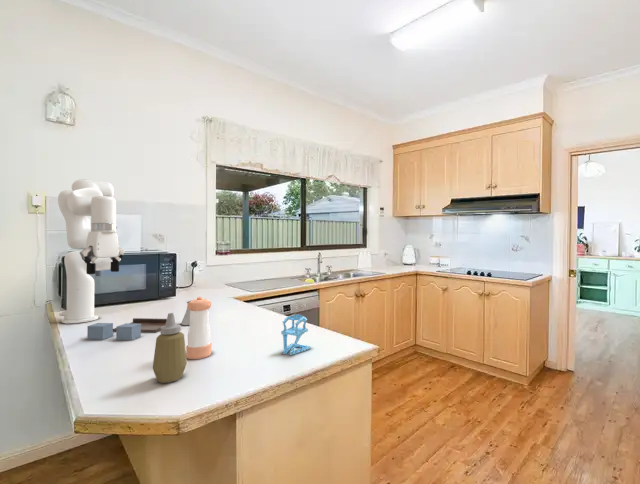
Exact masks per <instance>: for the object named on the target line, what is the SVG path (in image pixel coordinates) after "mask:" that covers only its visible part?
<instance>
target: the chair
mask: <svg viewBox="0 0 640 484" xmlns="http://www.w3.org/2000/svg"><path fill="white" fill-rule="evenodd" d="M288 321H291V327H288V328H287V324H286V323H287V322H288ZM295 321H296V322H295ZM307 321H308V318H307V317H306V316H304V315H302V314H297V313H296V314H293V315H288V316H287V317H285V318H284V320H283V321H282V325H283V330H281V331H280V335H282V341H283V342H282V343H283V352H282V353H283V355H287V354H288V353H289V356H292V355H296V354H298V353H302V352H305V351H309V350H311V346H310V345H307V344H301V343H299V341H300V338H301V337H302V336H303V335H304V334H305V333H307V332H309V329H308V328H307V327H306V326H307V325H306V324H307ZM302 322H303V325H302V327H299V325H300V324H301V323H302ZM288 336H294V337H295V340H294V342H293V343H292V342H291V343H290V344H289V345H288ZM296 348H297V349H296Z"/></svg>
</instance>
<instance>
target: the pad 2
mask: <svg viewBox="0 0 640 484" xmlns="http://www.w3.org/2000/svg"><path fill="white" fill-rule="evenodd" d="M130 323H131V322H129V323H127V322H126V323H123V324H120V325H117V326H116V327H115V328H116V332H115V339H116V341H134V340H135V339H138V338H141V337H142V332H141V324H130Z"/></svg>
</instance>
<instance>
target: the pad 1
mask: <svg viewBox="0 0 640 484" xmlns="http://www.w3.org/2000/svg"><path fill="white" fill-rule="evenodd" d="M113 329H114V322H97V323H93V324H90V325H87V330H86V331H87V334H86V336H87V337H86V338H87V340H97V341H99V340H101V341H102V340H103V341H104V340H106V339H109V338H111V337H113V336H114V332H113Z"/></svg>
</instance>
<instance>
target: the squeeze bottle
mask: <svg viewBox="0 0 640 484" xmlns="http://www.w3.org/2000/svg"><path fill="white" fill-rule="evenodd" d="M166 319H167V321H166V324H165V326H163V327H161V330H160V334H159V335H158V336H157V337H156V339H155V345H154V352H153V362H152V371H153V373H154V375H155V379H156V382H157V383H160V384H161V383H163V384H164V383H165V384H166V383H171V382H175V381H178V380H180V379H181V378H182V377H183V375H184V373H185V369H186V367H187V365H188V360H187V359H188V358H187V357H186V341H185V334H184V332H181V324H177V323H176V318H175V315H174V312H169V313H167V317H166Z"/></svg>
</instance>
